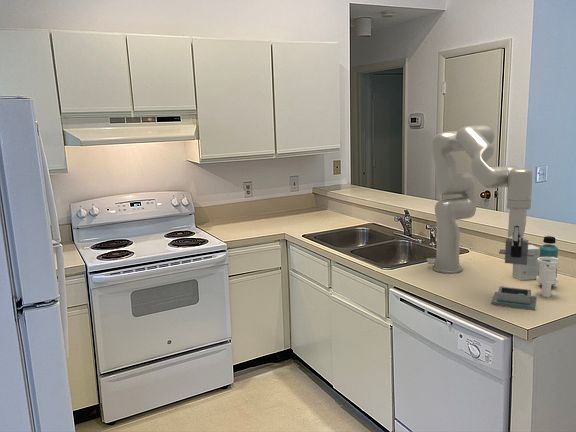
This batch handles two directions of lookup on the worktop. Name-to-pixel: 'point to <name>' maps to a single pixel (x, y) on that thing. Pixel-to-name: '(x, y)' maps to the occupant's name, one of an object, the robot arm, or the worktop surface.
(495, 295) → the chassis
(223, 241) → the worktop surface
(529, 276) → the small box
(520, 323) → the worktop surface
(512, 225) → the robot arm
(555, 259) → the clear white hollow cylinder
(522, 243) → the lever
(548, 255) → the beverage bottle
